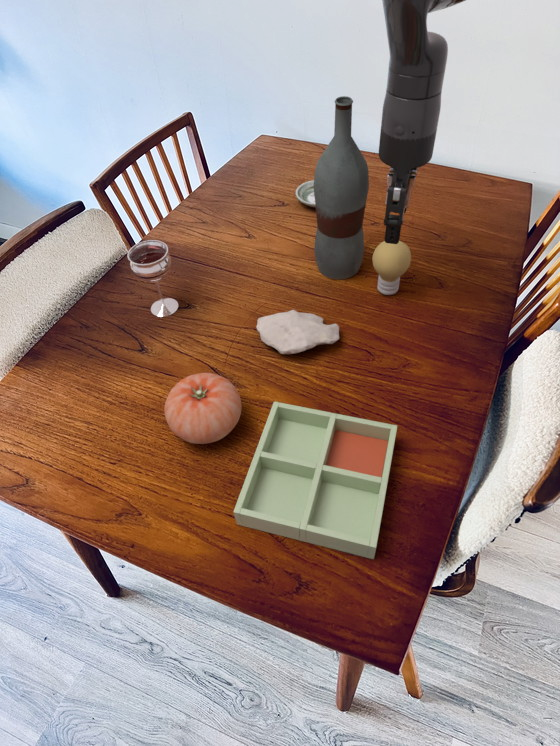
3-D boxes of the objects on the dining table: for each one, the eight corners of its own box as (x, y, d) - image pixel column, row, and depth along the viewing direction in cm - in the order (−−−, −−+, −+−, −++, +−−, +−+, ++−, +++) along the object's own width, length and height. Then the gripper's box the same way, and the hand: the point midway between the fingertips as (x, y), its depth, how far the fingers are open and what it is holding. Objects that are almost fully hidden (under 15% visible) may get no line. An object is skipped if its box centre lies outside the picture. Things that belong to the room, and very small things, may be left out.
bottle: (307, 257, 100) (303, 93, 78) (351, 246, 102) (359, 82, 79) (324, 286, 95) (326, 118, 72) (371, 274, 96) (386, 106, 73)
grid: (394, 440, 73) (397, 425, 70) (373, 559, 62) (376, 547, 59) (275, 415, 76) (273, 401, 74) (236, 524, 66) (233, 511, 63)
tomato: (203, 384, 81) (194, 349, 75) (259, 414, 77) (254, 380, 71) (155, 432, 76) (141, 399, 70) (212, 468, 71) (202, 436, 65)
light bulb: (376, 275, 96) (381, 228, 88) (410, 283, 94) (418, 237, 86) (364, 296, 92) (368, 250, 85) (399, 306, 90) (406, 259, 82)
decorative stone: (349, 328, 88) (269, 314, 93) (349, 309, 85) (267, 296, 91) (327, 367, 80) (241, 349, 86) (326, 347, 78) (238, 330, 83)
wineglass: (189, 310, 93) (175, 255, 83) (154, 325, 90) (135, 270, 81) (174, 289, 96) (158, 234, 87) (140, 304, 94) (120, 249, 85)
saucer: (290, 211, 111) (290, 200, 109) (302, 187, 117) (302, 177, 115) (334, 216, 109) (334, 205, 107) (344, 191, 115) (344, 181, 113)
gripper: (432, 151, 65) (413, 256, 78) (442, 103, 74) (424, 205, 86) (372, 146, 67) (364, 250, 79) (389, 100, 76) (379, 200, 88)
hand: (395, 226), depth 83 cm, fingers open, 8 cm apart
